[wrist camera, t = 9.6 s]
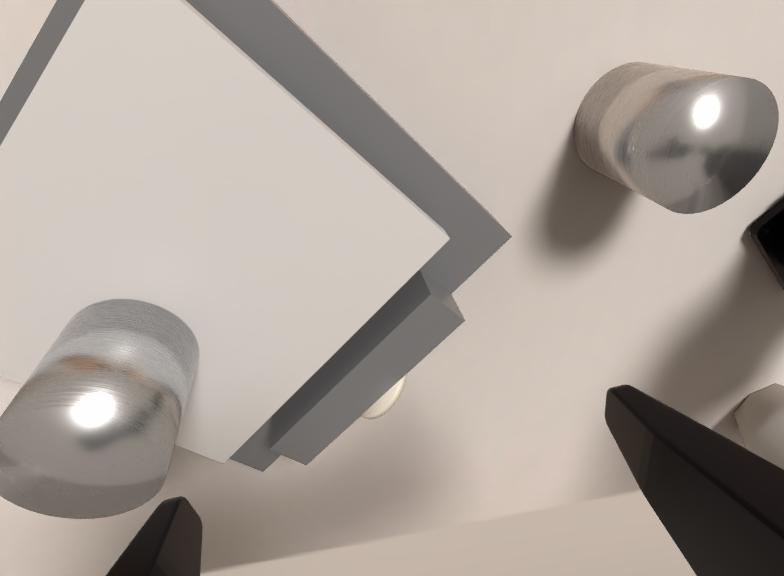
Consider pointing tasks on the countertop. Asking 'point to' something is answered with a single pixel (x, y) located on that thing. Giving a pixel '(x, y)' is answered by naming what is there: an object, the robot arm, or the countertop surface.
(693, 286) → the countertop surface
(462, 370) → the countertop surface
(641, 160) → the cylinder
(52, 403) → the cylinder
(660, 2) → the countertop surface
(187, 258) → the scale
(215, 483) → the countertop surface
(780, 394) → the salt shaker
